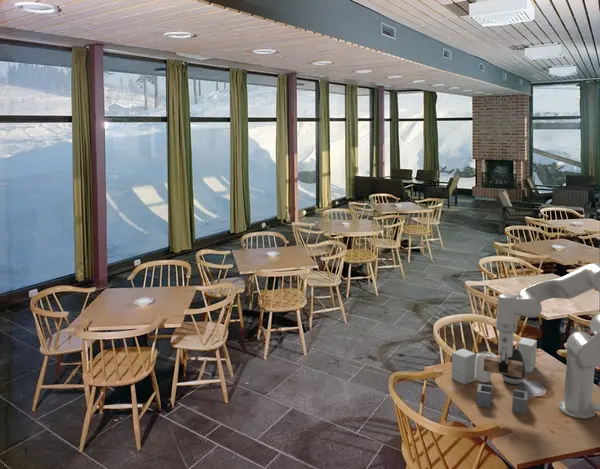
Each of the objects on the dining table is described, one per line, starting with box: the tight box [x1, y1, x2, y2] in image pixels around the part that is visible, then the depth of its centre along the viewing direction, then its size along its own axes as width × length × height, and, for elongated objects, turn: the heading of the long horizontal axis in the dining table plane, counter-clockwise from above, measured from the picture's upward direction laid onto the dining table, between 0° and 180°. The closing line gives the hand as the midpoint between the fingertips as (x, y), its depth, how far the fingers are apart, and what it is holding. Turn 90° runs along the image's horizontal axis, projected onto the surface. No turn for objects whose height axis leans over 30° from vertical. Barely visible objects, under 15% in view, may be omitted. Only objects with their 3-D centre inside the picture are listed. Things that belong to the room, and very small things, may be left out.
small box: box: [517, 337, 538, 374], centre depth 240 cm, size 8×6×13 cm
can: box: [475, 351, 492, 384], centre depth 230 cm, size 6×6×12 cm
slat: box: [483, 355, 523, 378], centre depth 207 cm, size 14×4×5 cm, turn 65°
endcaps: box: [475, 383, 528, 415], centre depth 209 cm, size 18×7×6 cm, turn 66°
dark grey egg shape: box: [500, 347, 527, 385], centre depth 227 cm, size 10×10×15 cm
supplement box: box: [450, 348, 477, 385], centre depth 230 cm, size 7×7×13 cm
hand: (503, 369), depth 207 cm, fingers closed on slat, 3 cm apart
